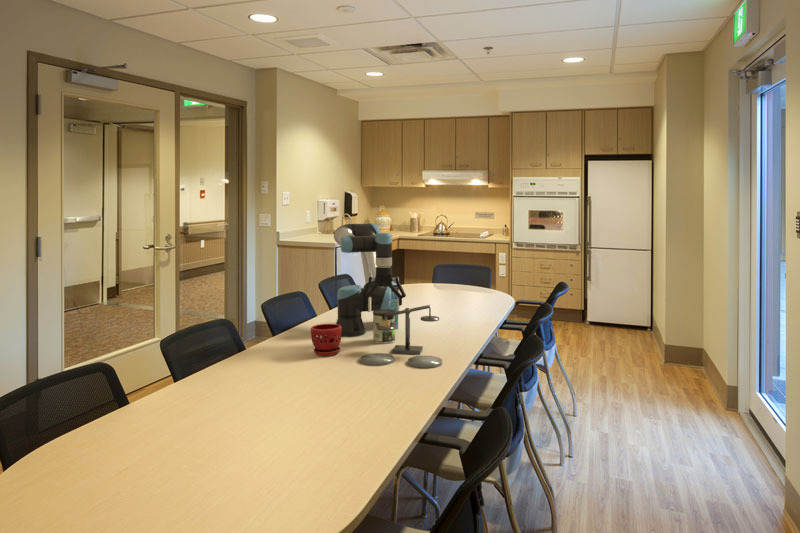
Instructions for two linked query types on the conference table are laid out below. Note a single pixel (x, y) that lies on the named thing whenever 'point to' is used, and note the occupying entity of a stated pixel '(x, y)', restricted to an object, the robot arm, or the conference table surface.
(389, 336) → the coffee can
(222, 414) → the conference table surface
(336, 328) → the plant pot
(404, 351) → the balance
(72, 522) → the conference table surface
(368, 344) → the conference table surface
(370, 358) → the dish left
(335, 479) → the conference table surface
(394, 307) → the gum box
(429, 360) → the dish right
